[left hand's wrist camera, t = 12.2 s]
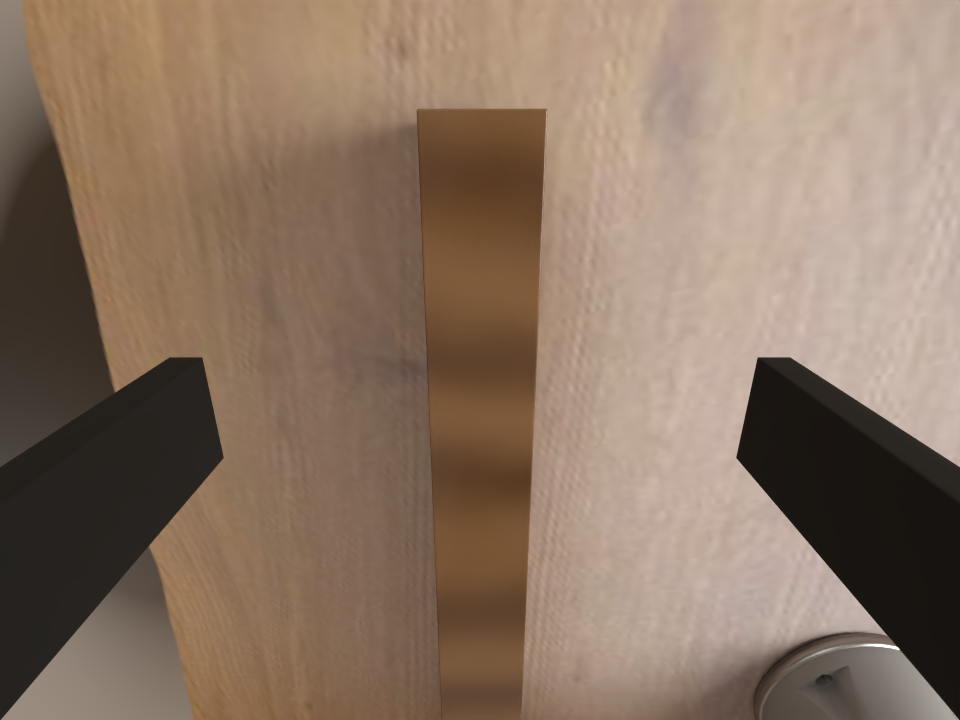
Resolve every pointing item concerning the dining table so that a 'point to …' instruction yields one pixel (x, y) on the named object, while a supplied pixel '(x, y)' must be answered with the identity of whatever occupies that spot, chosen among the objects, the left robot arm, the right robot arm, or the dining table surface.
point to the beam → (481, 389)
